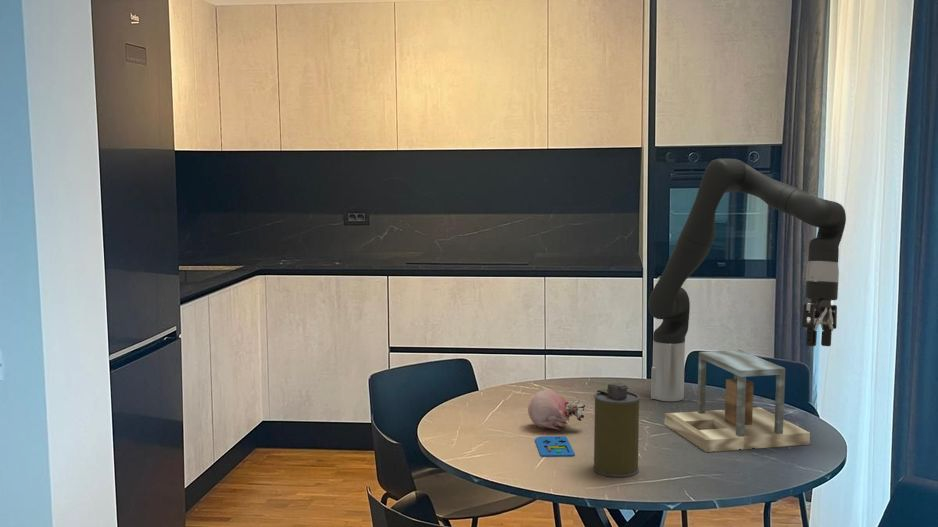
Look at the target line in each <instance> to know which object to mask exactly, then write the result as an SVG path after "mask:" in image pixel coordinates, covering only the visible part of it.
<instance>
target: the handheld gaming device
mask: <svg viewBox="0 0 938 527" xmlns="http://www.w3.org/2000/svg"><path fill="white" fill-rule="evenodd" d="M534 442H535V445H536V448H537V450H538V453H539V456H540V458H562V457H563V458H565V457H567V458H569V457H570V458H573V457H575V456H576V455H575V453H576V452H575V451H574V449H573V447H572V446H571V443H570V441H569V439H568V437H567V436H566V435H561V436H560V435H557V436H556V435H555V436H554V435H552V436H551V435H549V436H547V435H545V436H544V435H543V436H542V435H541V436H537V437H535V439H534Z"/></svg>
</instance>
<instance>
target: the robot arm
mask: <svg viewBox="0 0 938 527" xmlns="http://www.w3.org/2000/svg"><path fill="white" fill-rule="evenodd" d="M735 192H736V193H744V194H746V195H747V194H748V195H751V196H753V197H754V196H755V197H757V198H759V199H760V200H762V201H763V202H764V203H765V204H767V206H769V207H770V208H772V209H774V210H777V211H779V212H780V213H784V214H787V215H788V216H792V217H795V218H797V219H798V220H800V221H801V222H803V223H805V224H807V225H809V226H812V227H815V228H818V230H817V234H816V237H815V238H812V239H810V241H809V244H808V254H807V256H808V258H807V265H806V266H807V267H806V273H805V293H804V297H805V298H806V300H810V302H804V303H803V309H802V310H803V312H802V324H801V326H802V328H804V329H805V330H806V341H805V345H806V346H808V347H809V346H810V347H816V346H817V337H818V331H817V330H818V328H819V325H820V328H821V339H820V340H821V341H820V342H821V343H820V345H821V346H822V347H831V346H832V333H833V331H834V330H836V329H837V324H838V323H837V319H838V315H837V314H838V306H837V305H836V304H832V303H831V302H832V301H838V296H839V295H838V294H839V276H840V272H839V271H840V270H839V255H840V248H839V247H840V244H841V241H842V238H843V235H844V231H845V227H846V223H847V215H846V210H845V208H844V206H843V205H842V204H841V203H839V202H837V201H833V200H828V199H824V198H820V197H817V196H815V195H813V194H810V193H809V192H807V191H805V190H803V189H800V188H798V187H795V186H793V185H791V184H787V183H786V182H782V181H780V180H777V179H774V178H772V177H770V176H768V175H766V174H764V173H762V172H760V171H758V170H756V169H755V168H753V167H752V166H751V165H749V164H747V163H746V162H744V161H743V160H739V159H736V158H716V159H713V160H712V161H710V162H709V164H707V165H706V168H705V171H704V172H703V175H702V178H701V181H700V184H699V187H698V190H697V193H696V197H695V199H694V202H693V205H692V207H691V209H690V211H689V213H688V217H687V219H686V222H685V224H684V226H683V227H682V229H681V231H680V234H679V235H678V236H679V237H678V238H677V242H676V243H675V246H674V248H673V251H672V253H671V255H670V257H669V259H668V261H667V263H666V266H665V268H664V269H663V272H662V273H661V275H660V277H659V279H658V281H657V282H656V284H655V285H654V287H653V289H652V291H651V292H650V295H649V297H648V304H647V306H648V311H649V314H650V316H652V317H653V318H654V319H656V320H662V322H661V324H660V325H659V326H658V327H657V328H656V329H655V330H654V331H653V333H652V335H653V336H652V366H651V375H650V376H651V377H650V378H651V379H650V382H651V385H650V386H651V387H650V399H652V400H657V401H662V402H679V401H682V400H684V398H685V397H684V393H685V359H686V358H685V357H686V356H685V355H686V353H685V352H686V336H687V334H688V331H689V323H690V322H689V320H690V310H691V306H690V305H691V303H690V296H689V294H688V292H687V291H686V289H684V288H683V284H684V283H685V281H687V279H688V278H689V277H690V276H691V275H692V274H693V273H694V272H695V271H696V270H697V269H698V268H699V267H700V265H701V264H702V263H703V262H704V261H705V259H706V258H707V256H708V254H709V252H710V250H711V247H712V245H713V244H714V241H715V239H716V230H717V229H716V227H717V226H716V212H717V210H718V209H717V208H718V207H719V205H720V202H721V200H722V198H723V196H724V195H725V193H735Z"/></svg>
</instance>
